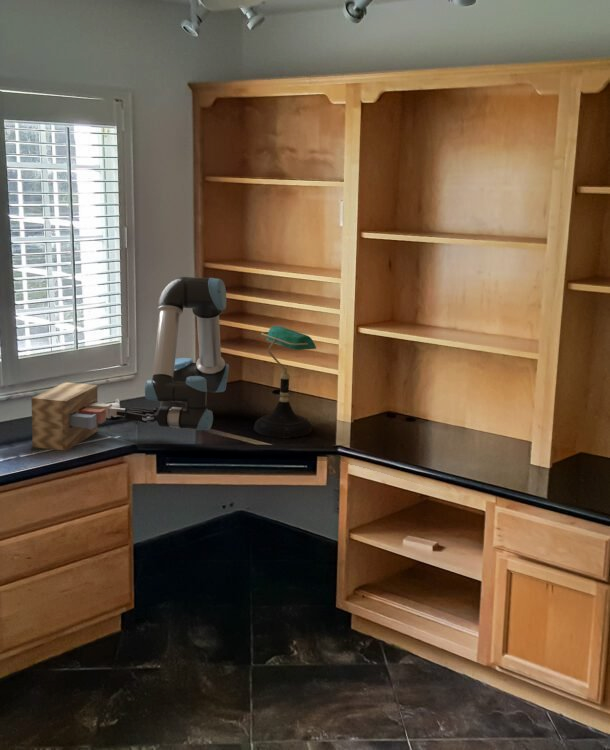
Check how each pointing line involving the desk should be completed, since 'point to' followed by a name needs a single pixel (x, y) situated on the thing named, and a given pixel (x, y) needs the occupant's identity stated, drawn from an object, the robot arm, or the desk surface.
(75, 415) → the slate key
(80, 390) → the wooden box
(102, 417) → the brick key
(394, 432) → the desk surface
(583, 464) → the desk surface
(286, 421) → the banker's lamp
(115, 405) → the elephant figurine
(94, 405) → the white key
